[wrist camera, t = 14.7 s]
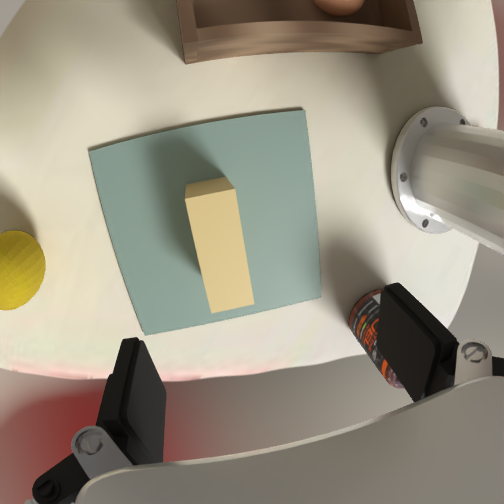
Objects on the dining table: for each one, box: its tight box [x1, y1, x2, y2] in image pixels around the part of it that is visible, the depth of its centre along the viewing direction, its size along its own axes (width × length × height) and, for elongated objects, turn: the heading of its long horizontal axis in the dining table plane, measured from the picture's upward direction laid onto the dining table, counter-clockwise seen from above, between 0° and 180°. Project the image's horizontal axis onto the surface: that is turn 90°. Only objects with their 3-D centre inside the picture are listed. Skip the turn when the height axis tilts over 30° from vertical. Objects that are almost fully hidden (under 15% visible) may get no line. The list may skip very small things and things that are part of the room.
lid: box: [89, 110, 321, 336], centre depth 23 cm, size 16×16×6 cm
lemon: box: [0, 230, 45, 310], centre depth 19 cm, size 6×6×8 cm
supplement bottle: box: [349, 290, 404, 388], centre depth 26 cm, size 6×6×11 cm
